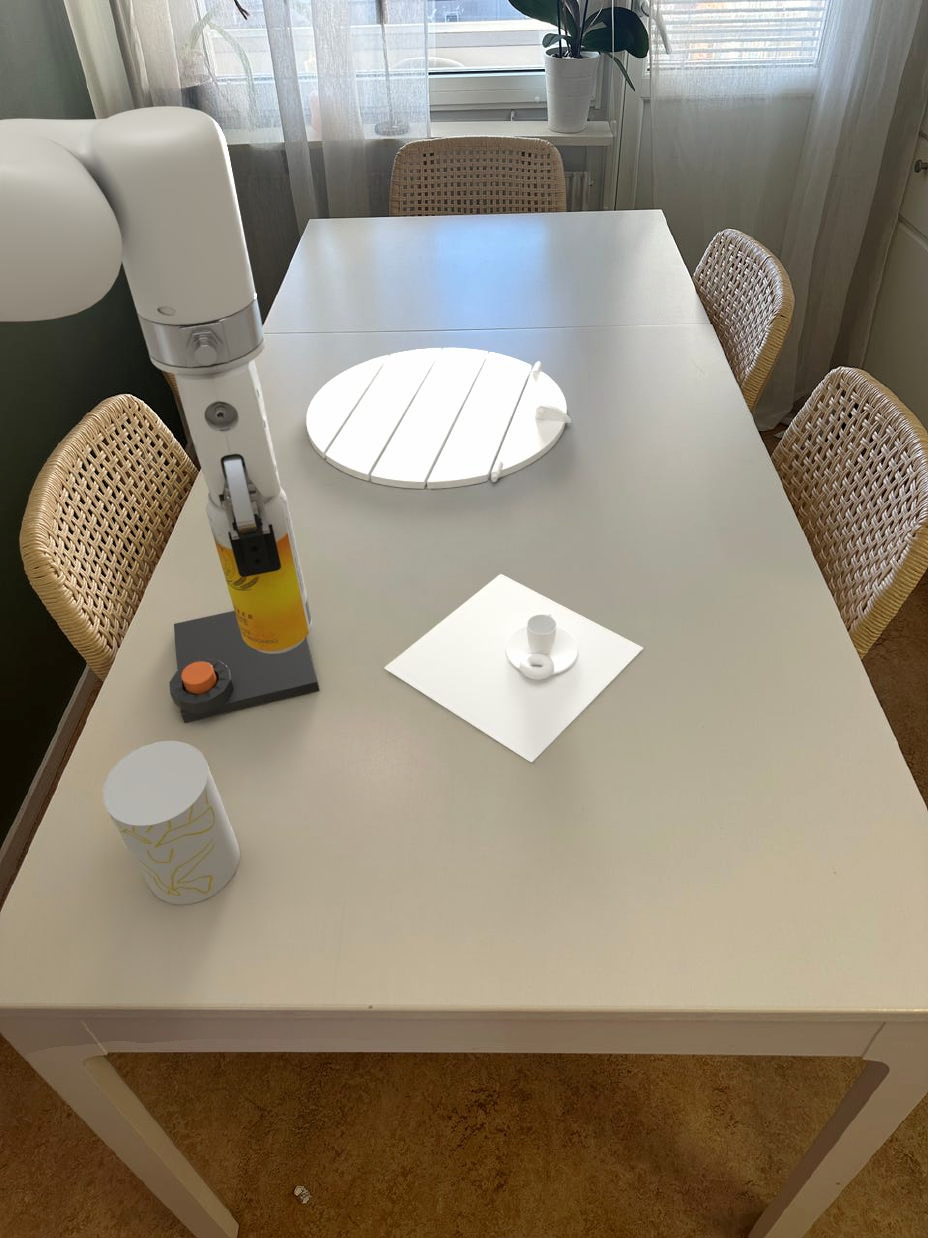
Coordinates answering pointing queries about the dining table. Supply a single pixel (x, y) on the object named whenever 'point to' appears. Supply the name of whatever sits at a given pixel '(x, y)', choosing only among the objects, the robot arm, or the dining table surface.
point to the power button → (199, 677)
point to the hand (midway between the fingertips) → (255, 543)
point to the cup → (173, 821)
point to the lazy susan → (436, 418)
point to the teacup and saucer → (515, 664)
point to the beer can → (266, 582)
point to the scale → (236, 669)
